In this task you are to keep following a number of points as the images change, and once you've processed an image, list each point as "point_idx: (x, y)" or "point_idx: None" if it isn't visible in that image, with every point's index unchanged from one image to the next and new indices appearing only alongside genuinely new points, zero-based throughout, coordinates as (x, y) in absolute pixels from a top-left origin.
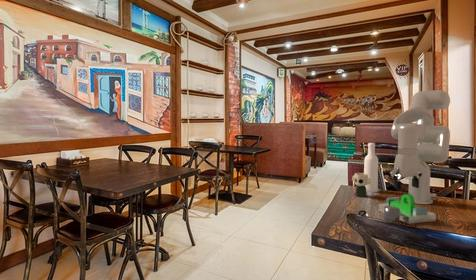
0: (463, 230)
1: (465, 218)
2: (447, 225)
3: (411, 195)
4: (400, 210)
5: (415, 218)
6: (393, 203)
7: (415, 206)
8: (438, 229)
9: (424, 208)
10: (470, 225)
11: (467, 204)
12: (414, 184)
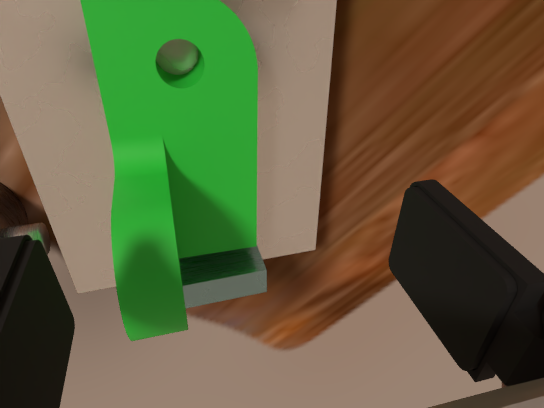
0: (307, 323)
1: (477, 203)
2: (296, 278)
3: (181, 327)
4: (102, 162)
5: None
6: (92, 48)
7: (243, 202)
8: (203, 319)
9: (236, 295)
10: (395, 278)
11: None
12: (420, 255)
